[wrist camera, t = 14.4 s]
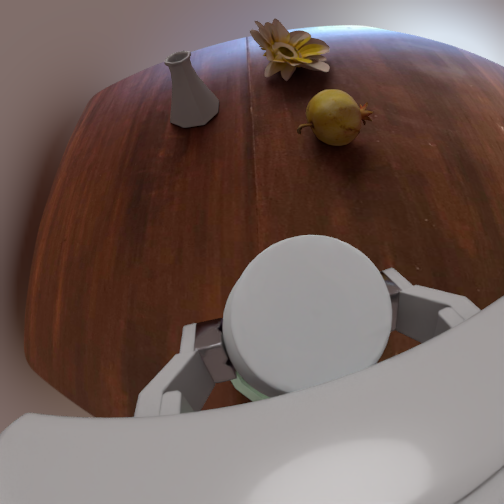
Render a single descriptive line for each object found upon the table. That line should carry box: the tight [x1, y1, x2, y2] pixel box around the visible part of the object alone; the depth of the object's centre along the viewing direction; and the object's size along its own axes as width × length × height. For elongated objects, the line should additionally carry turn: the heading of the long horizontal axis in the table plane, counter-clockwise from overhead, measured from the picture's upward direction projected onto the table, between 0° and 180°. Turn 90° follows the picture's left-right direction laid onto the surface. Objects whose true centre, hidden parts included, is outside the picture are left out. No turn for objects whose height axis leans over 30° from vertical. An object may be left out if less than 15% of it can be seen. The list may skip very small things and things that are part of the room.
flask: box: [165, 51, 219, 128], centre depth 31 cm, size 7×7×10 cm
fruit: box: [297, 89, 374, 146], centre depth 29 cm, size 7×7×10 cm
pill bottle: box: [222, 235, 392, 398], centre depth 11 cm, size 5×5×10 cm
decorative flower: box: [250, 19, 330, 81], centre depth 34 cm, size 15×11×10 cm
